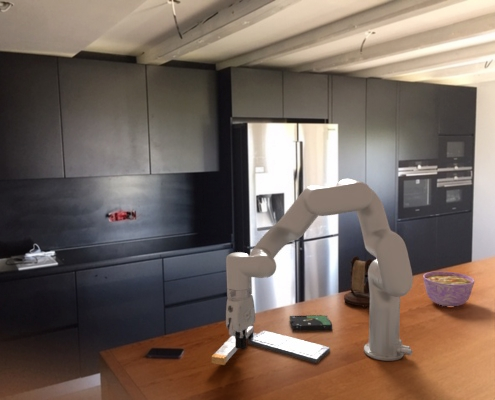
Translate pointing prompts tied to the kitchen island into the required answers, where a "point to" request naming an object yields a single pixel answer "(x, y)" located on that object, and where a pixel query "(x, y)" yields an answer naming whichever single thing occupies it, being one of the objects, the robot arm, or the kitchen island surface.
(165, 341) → the kitchen island surface
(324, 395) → the kitchen island surface
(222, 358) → the swing bar
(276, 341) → the label panel
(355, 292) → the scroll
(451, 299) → the bowl of food
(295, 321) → the disk drive
